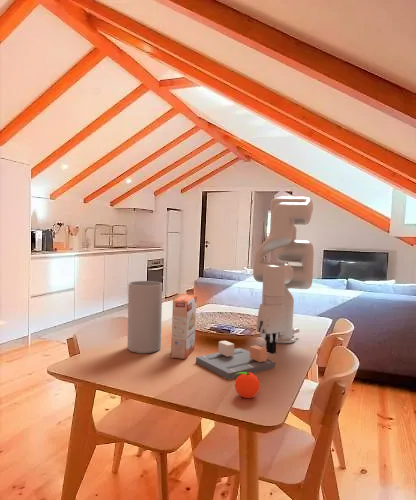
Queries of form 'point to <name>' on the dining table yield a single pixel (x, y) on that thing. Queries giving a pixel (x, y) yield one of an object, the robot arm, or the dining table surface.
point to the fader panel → (233, 363)
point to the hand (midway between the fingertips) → (270, 352)
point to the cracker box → (183, 326)
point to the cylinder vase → (144, 316)
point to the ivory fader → (226, 348)
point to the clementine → (247, 384)
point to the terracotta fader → (258, 353)
